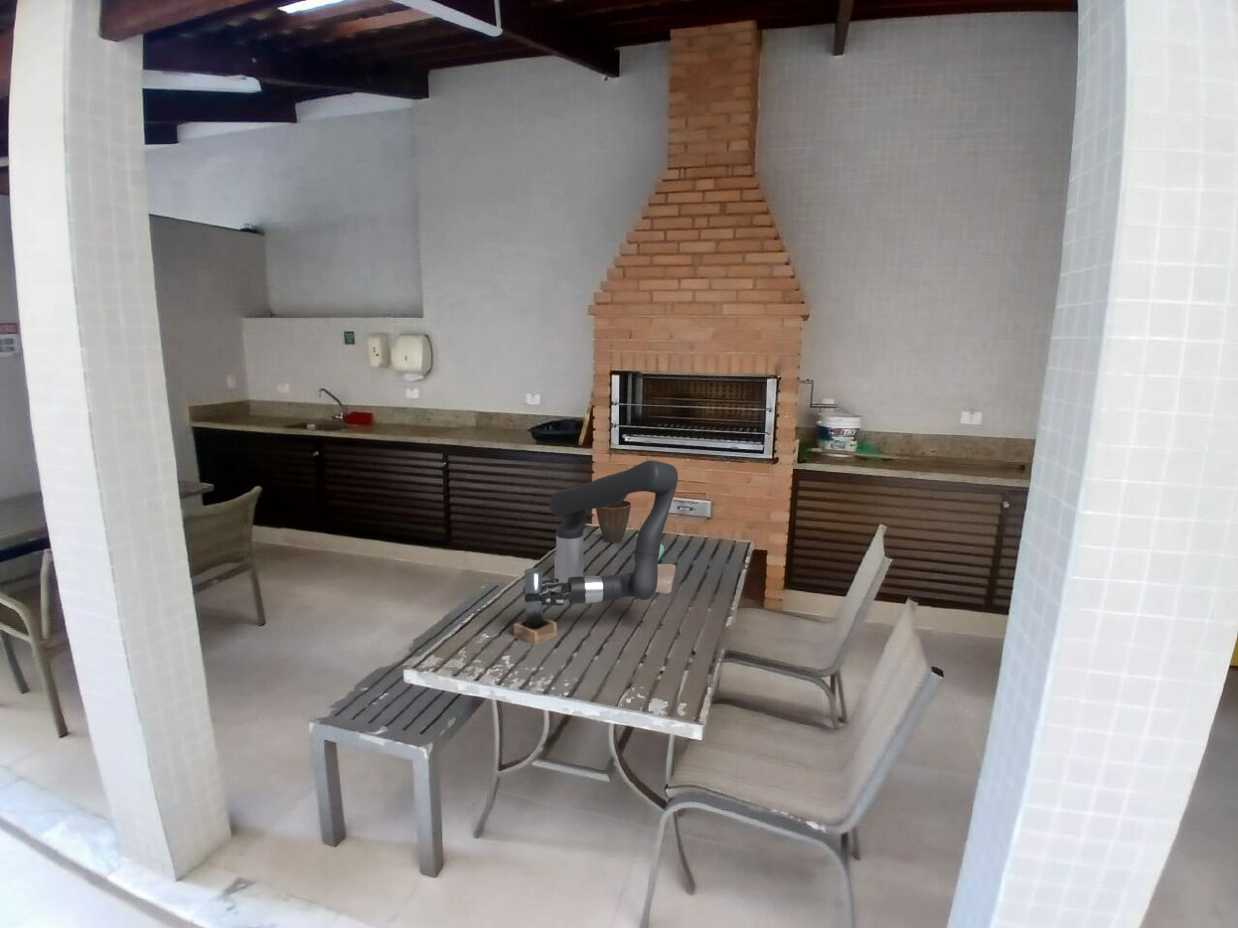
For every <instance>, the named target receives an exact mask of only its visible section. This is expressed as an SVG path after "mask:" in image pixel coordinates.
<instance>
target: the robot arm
mask: <svg viewBox="0 0 1238 928" xmlns="http://www.w3.org/2000/svg"><path fill="white" fill-rule="evenodd" d="M678 481H679V474H678V470H677V468H676V467H675V466H674V465H672V464H671V463H666V462H663V461H659V460H654V459H653V460H652V459H650V460H649V459H648V460H646V461H643V462H641V463H638V464H637V465H634V466H633V467H630V468H628V469H626V470H623V471H619V472H616V473H612V474H609V475H605V476H602V477H599V478H597V479H594V480H592V481H589V482H587V483H585V484H582V485H581V486H578V487H570V488H566V489H560V490H558V491H556V492H555V493H554V494H552V496H551V498H550V499H549V508H550V510H551V513H552V514H553V515H555V516H556V517H558V518H563V519H564V520H563V521H561V523H560V524H558V525H557V527H556V530H555V533H556V534H555V537H556V551H555V552H556V554H555V555H554V557H553V558H554V578H552V579H547V580H542V592H540V593H539V594H538V593H526V594H525V585H524V586H523V589H522V590H523V594H524V596H523V597H524V603H525V602H534V601H539V602H542V605H543V606H561V607H562V606H564V603H565V602H564V601H566V600H567V601H568V604H569V605H579V604H580V605H582V604H595V603H599V602H611V601H616V600H617V601H618V600H620V599H621V598H629V597H636V598H637V599H638V600H642V601H648V600H650V599H651V598H653V596H654V595H655V594H656V592H655V591H656V588H657V581H658V564H659V563H658V562H659V560H658V558H659V556H658V555H659V552H660V545H661V544H662V539H663V533H664V529H665V525H666V522H667V518H668V516H669V512H670V509H671V506H672V502H673V500H674V496H675V493H676V489H677V485H678ZM640 492H647V493H652V494H654V500H653V501H654V502H653V505H652V508H651V510H650V512H649V514H648V516H647V517H646V519H645V521H644V522H643V524H642V525H641V527H640V528H639V530H638V533H637V537H636V541H635V542H636V543H635V550H634V558H633V559H634V562H635V570H634V572H629V573H628V572H627V573H624V574H619V575H584V530H585V528H586V521H587V519H586V518H587V510H592V509H593V510H594V509H595V510H596V508H601V507H607V506H611V505H615V504H618V503H620V502H622V501H623V500H625V499H626V498H627V496H628V495H630V494H633V493H640ZM659 559H660V558H659Z"/></svg>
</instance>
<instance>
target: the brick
mask: <svg viewBox="0 0 1238 928" xmlns="http://www.w3.org/2000/svg"><path fill="white" fill-rule="evenodd" d="M676 569H677V565H676V564H670V563H666V564H665V563H664V564H663V563H658V581H657V588H656V591H655V593H661V594H670V592H671V593H672V591H673V590H672V589H673V585H674V580H675V577H676Z"/></svg>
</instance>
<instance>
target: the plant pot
mask: <svg viewBox="0 0 1238 928" xmlns="http://www.w3.org/2000/svg"><path fill="white" fill-rule="evenodd" d="M631 507H632V503H631V501H628V500H625V499H624V500H623V501H622V502H620V503H618V504H615V505H611V506H607V507H601V508H595V511H596V516H597V517H596V518H597V521H598V526H599V529H600V531H601V534H602V538H603V540H604V541H605V542H606V543H612V544H616V543H621V542H622V541H623V540H624V536H625V533H626V530H627V526H628V523H629V519H630V513H631Z"/></svg>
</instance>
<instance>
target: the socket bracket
mask: <svg viewBox="0 0 1238 928" xmlns="http://www.w3.org/2000/svg"><path fill="white" fill-rule="evenodd" d="M557 629H558V628H557V622H556V621H553V620H551V619H548V618H546V617H543V626H542V627H541V628H538V629H530V628H527V627H526V618H525V619H522V620H520V621H518V622H516V623H514V624H513V635H512V637H513V638H516V639H518V640H520V641H523V642H525V643H528V644H529V645H532V646H534V647H535V646H538V645H540V644H541V643H544V642H545V641H547V640H549V639H552V638H553V637H555V636H558V635H559V633H557Z"/></svg>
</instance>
